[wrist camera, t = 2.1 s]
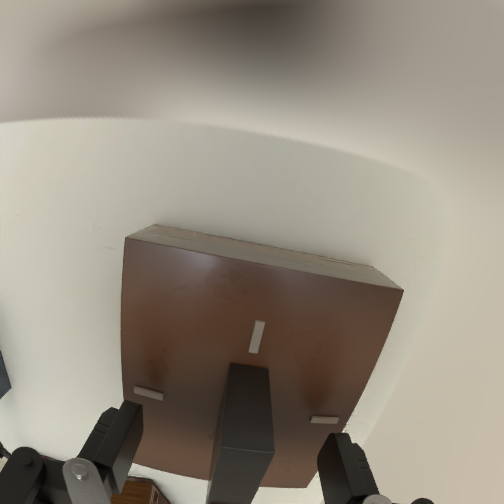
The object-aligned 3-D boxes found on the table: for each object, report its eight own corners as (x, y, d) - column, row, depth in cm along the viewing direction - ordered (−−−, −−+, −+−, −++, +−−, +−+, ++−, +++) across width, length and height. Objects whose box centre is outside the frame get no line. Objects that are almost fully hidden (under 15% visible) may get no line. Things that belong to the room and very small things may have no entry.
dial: (229, 362, 11) (219, 452, 7) (268, 368, 11) (276, 459, 7) (213, 443, 12) (203, 519, 8) (244, 448, 12) (242, 523, 8)
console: (154, 224, 14) (123, 237, 10) (373, 266, 14) (406, 291, 10) (145, 426, 17) (130, 464, 13) (300, 451, 17) (306, 490, 14)
